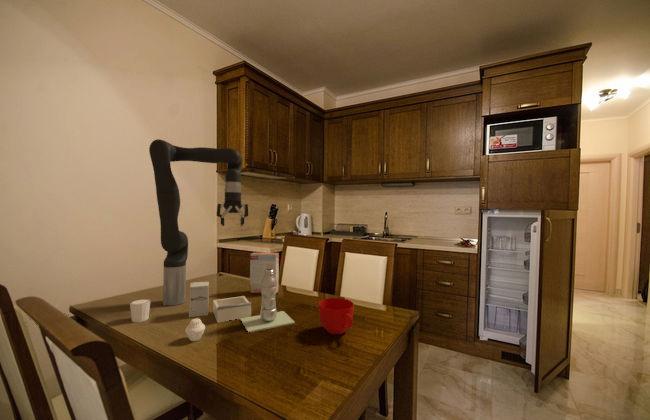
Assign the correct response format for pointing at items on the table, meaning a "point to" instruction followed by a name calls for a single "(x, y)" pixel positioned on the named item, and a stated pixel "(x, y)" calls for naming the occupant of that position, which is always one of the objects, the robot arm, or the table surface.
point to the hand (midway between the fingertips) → (232, 225)
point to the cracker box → (262, 269)
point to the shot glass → (140, 310)
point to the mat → (266, 322)
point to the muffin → (195, 329)
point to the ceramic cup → (336, 314)
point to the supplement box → (198, 299)
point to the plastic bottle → (268, 296)
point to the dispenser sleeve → (231, 308)
